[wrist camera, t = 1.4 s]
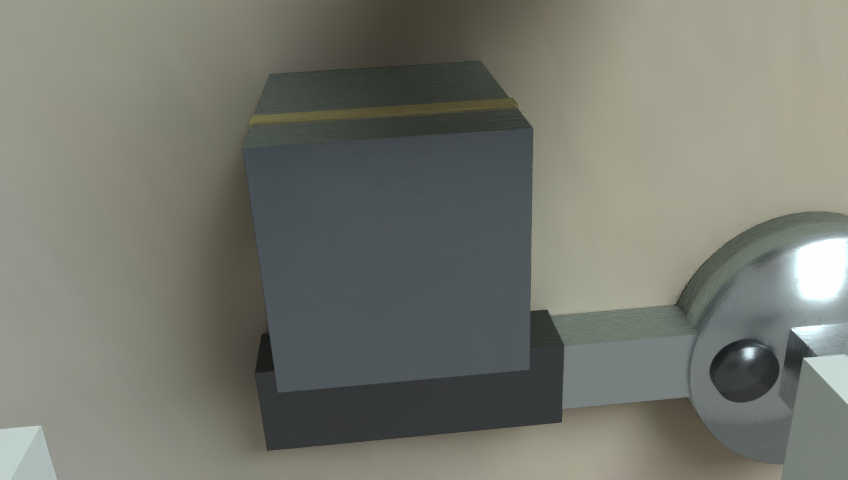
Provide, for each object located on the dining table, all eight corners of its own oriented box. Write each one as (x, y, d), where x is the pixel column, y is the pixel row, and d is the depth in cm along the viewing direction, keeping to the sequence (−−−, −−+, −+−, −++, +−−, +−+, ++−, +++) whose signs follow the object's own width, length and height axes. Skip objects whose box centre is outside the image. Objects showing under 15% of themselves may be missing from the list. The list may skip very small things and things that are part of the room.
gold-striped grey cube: (292, 266, 29) (276, 394, 22) (267, 73, 26) (240, 146, 19) (483, 250, 30) (531, 371, 22) (481, 59, 27) (534, 126, 19)
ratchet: (282, 473, 33) (267, 628, 26) (250, 256, 29) (222, 372, 22) (881, 414, 35) (1014, 544, 28) (932, 202, 30) (1103, 293, 24)
